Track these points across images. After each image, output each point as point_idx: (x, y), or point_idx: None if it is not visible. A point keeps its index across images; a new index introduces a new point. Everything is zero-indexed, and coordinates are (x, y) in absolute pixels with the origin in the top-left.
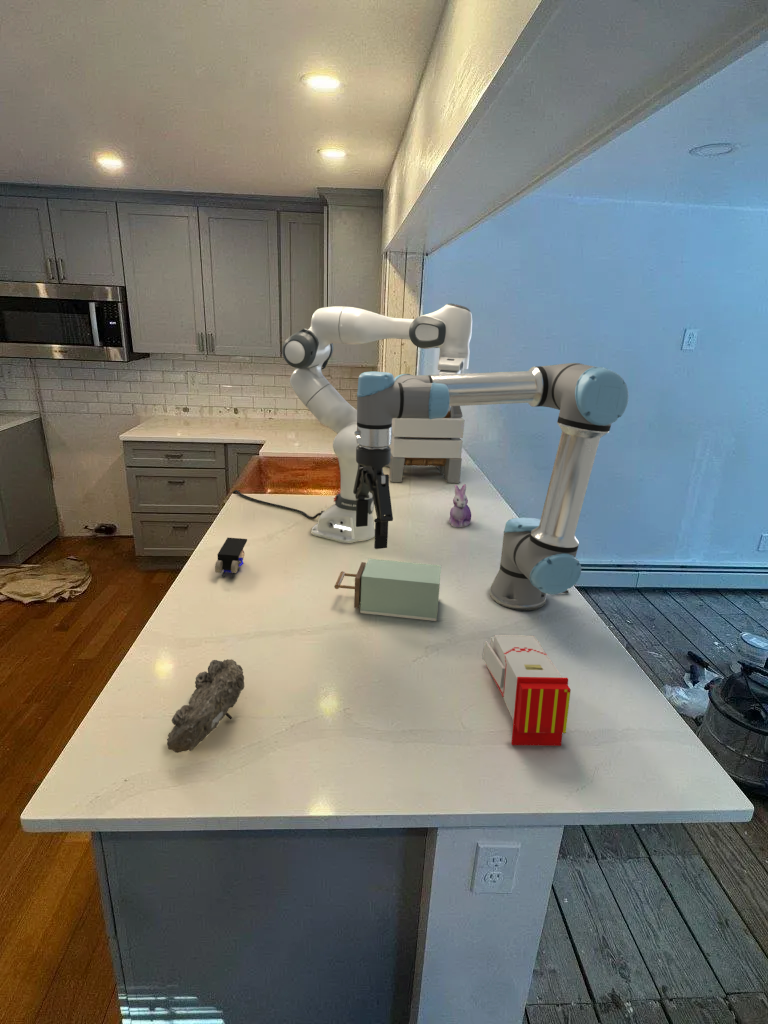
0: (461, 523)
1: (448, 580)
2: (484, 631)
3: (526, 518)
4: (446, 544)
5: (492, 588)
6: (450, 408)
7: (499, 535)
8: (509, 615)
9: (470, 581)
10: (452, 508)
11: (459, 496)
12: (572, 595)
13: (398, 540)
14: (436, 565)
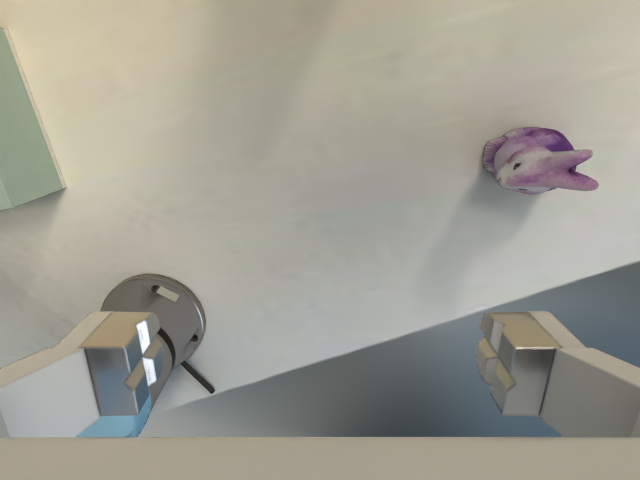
0: (491, 169)
1: (161, 190)
2: (8, 279)
3: (105, 428)
4: (356, 150)
5: (125, 285)
6: (148, 385)
7: (457, 263)
8: (84, 310)
9: (179, 233)
10: (523, 143)
11: (525, 172)
12: (210, 395)
13: (337, 13)
14: (4, 198)
